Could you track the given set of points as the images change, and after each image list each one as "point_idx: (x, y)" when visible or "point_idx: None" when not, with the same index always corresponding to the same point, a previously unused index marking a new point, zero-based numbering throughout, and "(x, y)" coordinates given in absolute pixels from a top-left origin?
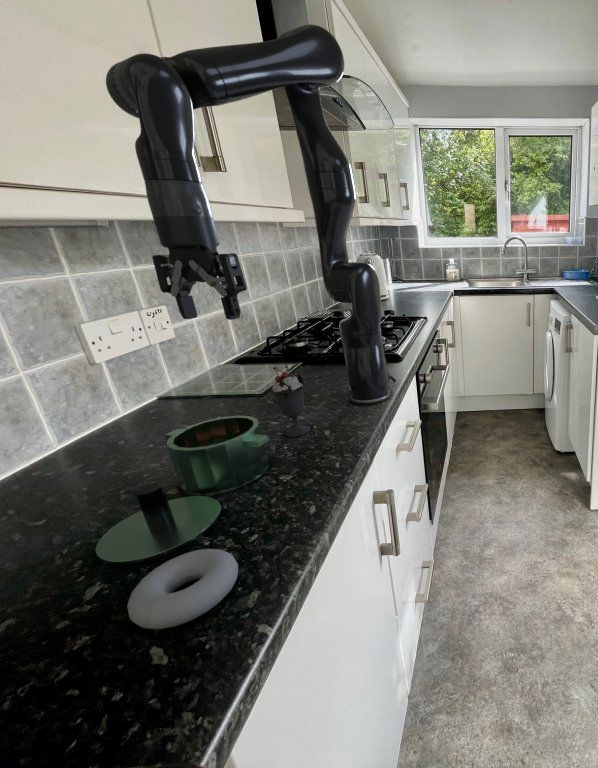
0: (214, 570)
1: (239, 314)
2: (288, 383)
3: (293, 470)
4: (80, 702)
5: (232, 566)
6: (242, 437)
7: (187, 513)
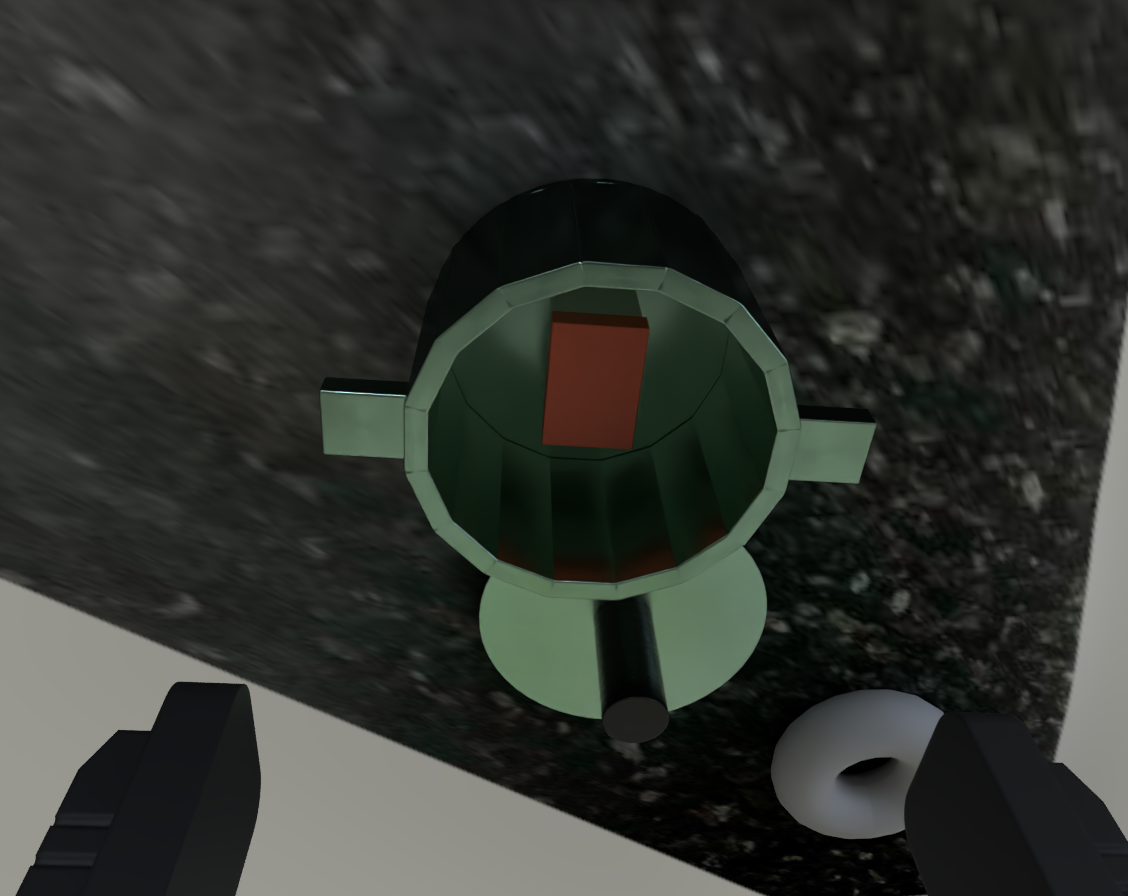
0: None
1: (1058, 777)
2: None
3: (862, 279)
4: (817, 865)
5: None
6: (786, 487)
7: None
